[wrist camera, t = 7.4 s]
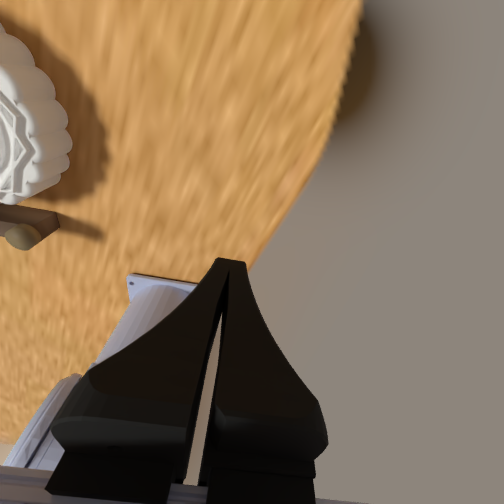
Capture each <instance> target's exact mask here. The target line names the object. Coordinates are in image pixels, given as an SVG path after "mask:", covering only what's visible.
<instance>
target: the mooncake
mask: <svg viewBox="0 0 504 504" xmlns="http://www.w3.org/2000/svg"><path fill="white" fill-rule="evenodd" d="M55 97H56V91H55V87H54V85H53V83H52V81H51V79H50V78H49V77H48V75H47V74H46V73H45V72H43V71H42V70H41V69H39V68H37V67H35V62H34V58H33V56H32V54H31V52H30V50H29V49H28V48H27V46H26V45H25V44H24V43H23V42H22V41H21V40H19V39H18V38H16V37H15V36H12V35H10V34H6V31H5V29H4V27H3V26H2V24H1V23H0V204H1V203H4V204H8V205H14V204H17V203H19V202H21V201H23V200H26V199H28V198H30V197H32V196H34V195H36V194H38V193H40V192H42V191H43V190H45V189H47V188H49V187H51V186H53V185H55V184H57V183H58V182H59V181H60V179H61V174H60V173H62V172H64V171H66V170H67V169H68V168H69V166H70V161H69V158H68V156H67V153H68V152H70V151H71V149H72V146H73V143H72V139H71V136H70V135H69V133H68V132H67V131H66V129H65V128H66V127H67V125H68V116H67V113H66V111H65V109H64V108H63V106H62V105H61V104H60V103H59V102H58V101H57V100H55Z"/></svg>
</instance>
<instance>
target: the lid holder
mask: <svg viewBox="0 0 504 504" xmlns="http://www.w3.org/2000/svg"><path fill="white" fill-rule="evenodd" d="M58 228H60V225H59V222H58V219H57V216H56V213H55V212H52V211H46V210H41V209H35V208H29V207H24V206H18V205H8V204H4V203H1V204H0V236H2V237H5V238H6V240H7V241H8V243H10V244H11V245H12V246H13V247H15V248H17V249H20V250H29V249H31V248H32V247H33V246H35V245H36V244H38V243H39V242H40V241H42V240H43V239H44V238H46V237H47V236H49V235H50V234H51V233H53V232H54V231H55V230H57V229H58Z"/></svg>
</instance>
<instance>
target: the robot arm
mask: <svg viewBox="0 0 504 504" xmlns="http://www.w3.org/2000/svg"><path fill="white" fill-rule="evenodd" d="M126 279H127V286H128V292H129V298H130V304H129V306H128V308H127V309H126V311H125V313H124V314H123V316H122V318H121V319H120V321H119V323H118V324H117V326H116V328H115V329H114V331H113V333H112V334H111V336H110V338H109V339H108V341H107V343H106V344H105V346H104V348H103V349H102V351H101V353H100V354H99V356H98V358H97V359H96V361H95V363H92V364H91V365H90V367H89V369H88V370H87V372H86V373H85V375H84V376H83V377H82V375H80V374H77V373H74V374H72V375H71V376H70V377H66V378H64V379H62V380H60V381H59V382H58V383H57V385H56V386H55V387H54V388H53V389H52V391H51V392H50V393H49V395H48V396H47V398H46V399H45V400H44V402H43V403H42V405H41V406H40V407H39V409H38V410H37V412H36V413H35V415H34V416H33V418H32V419H31V421H30V422H29V424H28V425H27V427H26V428H25V430H24V431H23V433H22V434H21V436H20V437H19V439H18V441H17V442H16V444H15V445H14V447H13V449H12V450H11V452H10V454H9V455H8V457H7V459H6V460H5V462H4V464H3V466H1V465H0V504H367V503H358V502H357V503H356V502H348V501H338V500H328V499H319V498H315V492H314V484H313V479H314V478H315V477H316V473H315V472H316V471H315V464H314V460H315V459H316V458H317V457H318V456H319V455H320V454H321V453H322V452H323V451H324V450H325V449H326V447H327V446H328V435H327V430H326V425H325V422H324V418H323V415H322V412H321V408H320V405H319V402H318V400H317V399H316V398H315V396H314V395H313V394H312V393H311V392H310V390H309V389H308V388H307V387H306V385H305V384H304V383H303V381H302V380H301V379H300V378H299V376H298V375H297V374H296V372H295V371H294V369H293V368H292V367H291V365H290V364H289V362H288V361H287V359H286V358H285V356H284V355H283V353H282V351H281V350H280V348H279V347H278V345H277V344H276V342H275V340H274V338H273V337H272V335H271V333H270V331H269V330H268V327H267V325H266V323H265V321H264V319H263V317H262V315H261V313H260V310H259V308H258V305H257V303H256V300H255V298H254V295H253V292H252V289H251V285H250V282H249V278H248V274H247V268H246V263H245V262H243V261H237V260H231V259H225V258H219V257H218V258H216V259H215V261H214V263H213V265H212V266H211V268H210V269H209V271H208V272H207V274H206V275H205V276H204V277H203V279H202V280H201V281H200V282H199V284H192V283H185V282H179V281H173V280H167V279H161V278H155V277H149V276H142V275H136V274H129V275H128V276H127V278H126ZM222 310H223V311H222ZM221 314H222V324H221V336H220V349H219V359H218V367H217V372H216V378H215V385H214V391H213V396H212V402H211V408H210V414H209V420H208V426H207V432H206V438H205V444H204V450H203V456H202V461H201V468H200V473H199V479H198V485H197V486H194V485H184V484H183V481H184V479H185V478H186V474H187V468H188V463H189V458H190V453H191V448H192V442H193V437H194V432H195V427H196V421H197V416H198V410H199V405H200V400H201V395H202V390H203V385H204V380H205V375H206V370H207V364H208V360H209V356H210V352H211V349H212V345H213V342H214V338H215V335H216V331H217V328H218V324H219V321H220V317H221ZM81 377H82V378H81ZM80 379H81V380H80Z"/></svg>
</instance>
